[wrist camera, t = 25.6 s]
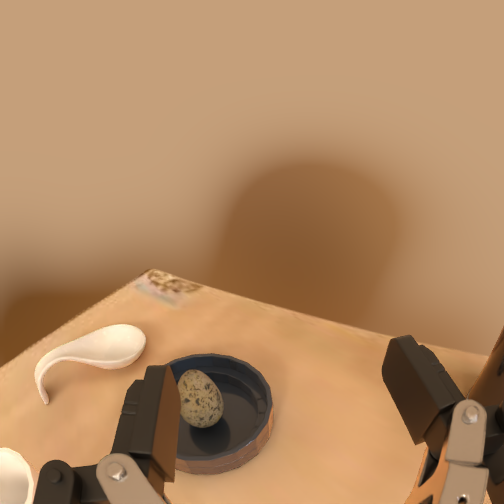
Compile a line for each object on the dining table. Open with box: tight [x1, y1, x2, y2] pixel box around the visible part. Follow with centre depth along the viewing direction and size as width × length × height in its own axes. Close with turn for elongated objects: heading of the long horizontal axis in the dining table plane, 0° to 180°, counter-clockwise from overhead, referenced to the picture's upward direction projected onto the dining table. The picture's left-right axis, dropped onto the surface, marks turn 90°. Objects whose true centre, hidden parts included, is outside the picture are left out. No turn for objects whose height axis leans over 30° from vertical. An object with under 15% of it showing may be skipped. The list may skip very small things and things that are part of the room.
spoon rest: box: [35, 324, 146, 404], centre depth 43 cm, size 24×12×7 cm, turn 138°
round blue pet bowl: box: [165, 353, 273, 474], centre depth 35 cm, size 18×18×5 cm
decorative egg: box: [177, 370, 224, 428], centre depth 34 cm, size 6×6×10 cm
